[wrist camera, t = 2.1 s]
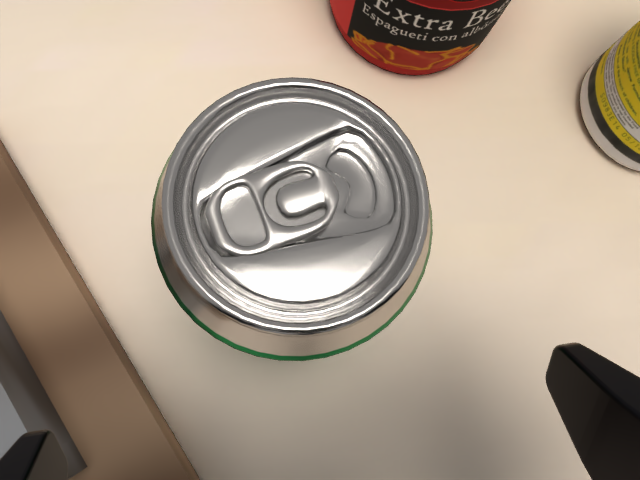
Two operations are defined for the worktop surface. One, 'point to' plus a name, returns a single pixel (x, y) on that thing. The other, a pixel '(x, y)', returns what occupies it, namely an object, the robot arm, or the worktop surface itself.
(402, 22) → the canned food
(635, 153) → the pill bottle
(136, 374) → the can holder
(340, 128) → the soda can
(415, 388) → the worktop surface
